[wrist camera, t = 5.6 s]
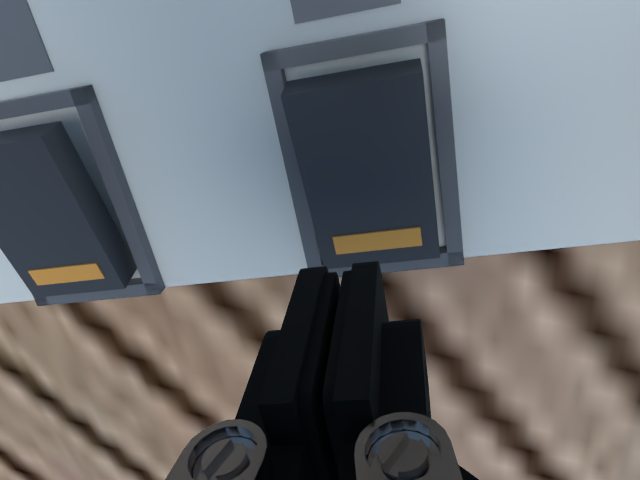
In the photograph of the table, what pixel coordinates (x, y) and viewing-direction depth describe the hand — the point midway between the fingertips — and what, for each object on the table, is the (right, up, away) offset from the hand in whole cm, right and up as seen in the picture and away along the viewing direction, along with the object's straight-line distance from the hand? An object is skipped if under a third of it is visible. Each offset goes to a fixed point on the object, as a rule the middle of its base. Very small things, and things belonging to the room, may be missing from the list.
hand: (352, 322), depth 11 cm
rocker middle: (+1, +4, +7) cm, 8 cm away
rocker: (-12, +3, +10) cm, 15 cm away
